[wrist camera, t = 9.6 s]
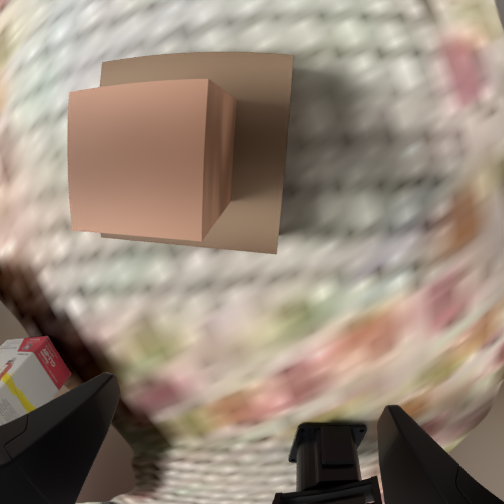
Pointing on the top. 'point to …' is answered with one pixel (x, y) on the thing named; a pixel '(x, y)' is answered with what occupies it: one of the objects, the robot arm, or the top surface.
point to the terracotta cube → (150, 158)
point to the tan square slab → (245, 140)
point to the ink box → (29, 376)
